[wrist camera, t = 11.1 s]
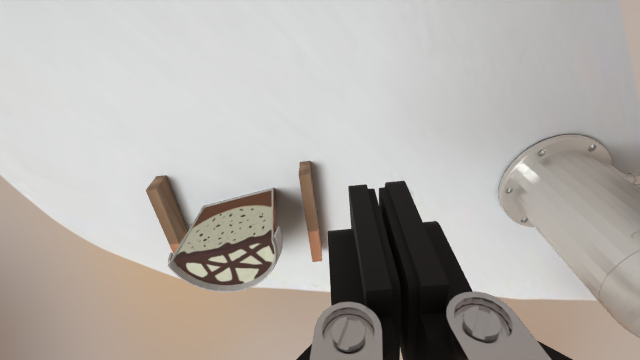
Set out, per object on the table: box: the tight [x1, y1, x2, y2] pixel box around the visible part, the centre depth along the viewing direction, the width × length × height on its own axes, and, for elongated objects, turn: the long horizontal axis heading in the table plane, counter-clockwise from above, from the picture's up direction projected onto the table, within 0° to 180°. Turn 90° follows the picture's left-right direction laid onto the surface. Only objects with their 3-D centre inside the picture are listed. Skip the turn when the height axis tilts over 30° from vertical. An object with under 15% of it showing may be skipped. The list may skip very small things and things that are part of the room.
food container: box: [168, 188, 283, 292], centre depth 40 cm, size 12×6×10 cm, turn 106°
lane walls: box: [146, 161, 322, 262], centre depth 43 cm, size 18×13×3 cm
